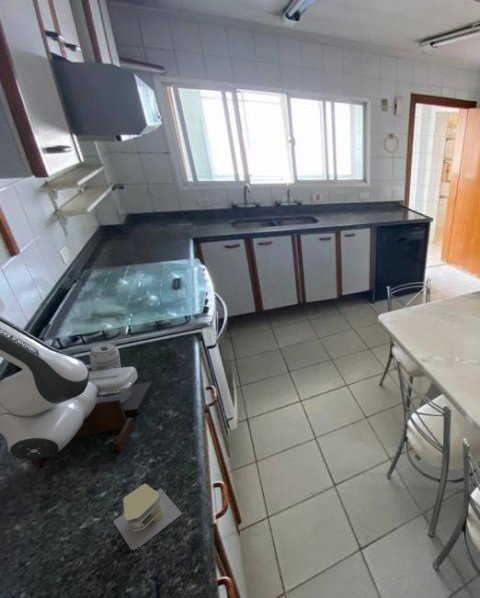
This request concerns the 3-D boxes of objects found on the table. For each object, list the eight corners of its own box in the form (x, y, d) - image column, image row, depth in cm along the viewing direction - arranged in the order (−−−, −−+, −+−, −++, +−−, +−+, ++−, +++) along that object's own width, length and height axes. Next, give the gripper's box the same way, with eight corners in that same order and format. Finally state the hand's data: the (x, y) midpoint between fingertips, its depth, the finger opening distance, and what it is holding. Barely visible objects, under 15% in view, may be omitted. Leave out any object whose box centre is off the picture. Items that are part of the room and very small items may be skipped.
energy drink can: (120, 381, 99) (114, 339, 93) (126, 392, 95) (120, 349, 90) (93, 389, 94) (86, 345, 88) (98, 401, 91) (91, 356, 85)
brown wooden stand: (34, 467, 78) (19, 439, 74) (57, 436, 86) (44, 410, 82) (121, 451, 83) (111, 425, 79) (135, 423, 91) (126, 398, 87)
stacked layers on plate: (113, 521, 68) (103, 504, 66) (160, 487, 75) (153, 471, 73) (132, 552, 63) (123, 536, 61) (182, 513, 70) (175, 497, 67)
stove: (68, 424, 89) (63, 414, 88) (89, 395, 99) (86, 386, 98) (138, 414, 94) (135, 404, 93) (152, 387, 105) (149, 378, 103)
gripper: (122, 382, 82) (142, 351, 94) (15, 395, 76) (51, 361, 88) (129, 401, 85) (147, 369, 97) (26, 416, 78) (59, 380, 90)
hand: (101, 365), depth 92 cm, fingers closed on energy drink can, 3 cm apart
